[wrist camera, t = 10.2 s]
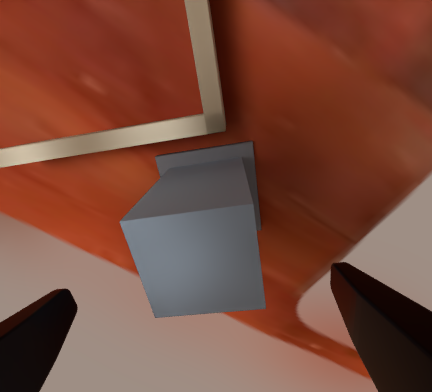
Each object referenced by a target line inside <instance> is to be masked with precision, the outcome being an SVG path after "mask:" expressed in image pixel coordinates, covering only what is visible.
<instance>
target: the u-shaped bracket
mask: <svg viewBox="0 0 432 392" xmlns="http://www.w3.org/2000/svg"><path fill="white" fill-rule="evenodd" d="M185 6H186V12H187V18H188V24H189V30H190V36H191V41H192V47H193V53H194V59H195V65H196V71H197V77H198V83H199V88H200V94H201V100H202V106H203V112H204V113H203V114H197V115H191V116H185V117H180V118H174V119H168V120H162V121H156V122H150V123H145V124H139V125H133V126H127V127H121V128H115V129H110V130H104V131H98V132H92V133H86V134H80V135H75V136H69V137H63V138H57V139H51V140H45V141H40V142H34V143H28V144H23V145H17V146H12V147H7V148H2V149H0V167H6V166H13V165H19V164H25V163H31V162H37V161H44V160H50V159H56V158H62V157H68V156H75V155H81V154H87V153H93V152H99V151H106V150H112V149H118V148H124V147H130V146H137V145H143V144H149V143H155V142H161V141H168V140H174V139H180V138H186V137H192V136H199V135H205V134H211V133H217V132H224V131H226V119H225V111H224V104H223V97H222V90H221V82H220V75H219V68H218V61H217V53H216V46H215V39H214V32H213V24H212V17H211V10H210V3H209V0H185Z"/></svg>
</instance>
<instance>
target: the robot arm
mask: <svg viewBox="0 0 432 392" xmlns="http://www.w3.org/2000/svg"><path fill="white" fill-rule="evenodd" d="M330 284H331V289H332V293H333V295H334V297H335V300H336V302H337V305H338V308H339V310H340V312H341V315H342V317H343V320H344V322H345V325H346V327H347V330H348V332H349V335H350V337H351V339H352V342H353V344H354V346H355V348H356V350H357V352H358V354H359V356H360V358H361V359H362V361H363V363H364V365H365V367H366V369H367V371H368V373H369V375H370V377H371V379H372V380H373V382H374V384H375V386H376V388H377V390H378V392H432V311H430V310H428V309H426V308H425V307H423V306H421V305H420V304H418V303H416V302H414V301H412V300H411V299H409V298H407V297H406V296H404V295H402V294H401V293H399V292H397V291H395V290H393V289H392V288H390V287H388V286H387V285H385V284H383V283H381V282H380V281H378V280H376V279H374V278H373V277H371V276H369V275H367V274H366V273H364V272H362V271H361V270H359V269H357V268H355V267H353V266H352V265H350V264H348V263H346V262H340V263H333V264H332V265H331V281H330ZM76 313H77V304H76V302H75V300H74V298H73V296H72V294H71V292H70V291H69V290H68V289H57V290H54V291H52V292H50V293H49V294H47V295H45V296H44V297H42V298H40V299H39V300H37V301H35V302H34V303H32V304H30V305H29V306H27V307H25V308H24V309H22V310H20V311H19V312H17V313H15V314H14V315H12V316H10V317H9V318H7V319H5V320H4V321H2V322H0V392H39V391H40V389H41V387H42V386H43V384H44V382H45V380H46V378H47V376H48V374H49V372H50V370H51V368H52V367H53V365H54V363H55V361H56V359H57V357H58V354H59V352H60V350H61V348H62V345H63V343H64V341H65V338H66V336H67V334H68V332H69V329H70V327H71V325H72V322H73V320H74V318H75V315H76Z"/></svg>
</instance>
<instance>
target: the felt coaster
mask: <svg viewBox="0 0 432 392" xmlns="http://www.w3.org/2000/svg"><path fill="white" fill-rule="evenodd" d="M236 157H242V161H243V165H244V169H245V173H246V177H247V181H248V185H249V189H250V193H251V197H252V201H253V206H254V214H255V222H256V230H257V231H258V230H261V220H260V210H259V200H258V190H257V180H256V170H255V160H254V150H253V142H252V141H247V142H240V143H234V144H227V145H221V146H214V147H208V148H201V149H195V150H188V151H182V152H175V153H169V154H163V155H157V156H156V157H155V159H156V163H157V167H158V170H159V174H160V178H161V177H162V176H163V175H164V174H165V172H166V171H167V170H168V169H169V168H173V167H179V166H186V165H192V164H198V163H205V162H211V161H217V160H224V159H230V158H236Z"/></svg>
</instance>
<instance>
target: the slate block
mask: <svg viewBox="0 0 432 392" xmlns="http://www.w3.org/2000/svg"><path fill="white" fill-rule="evenodd" d="M120 224H121V227H122V229H123V232H124V235H125V238H126V240H127V243H128V246H129V248H130V251H131V254H132V257H133V259H134V262H135V265H136V267H137V270H138V273H139V275H140V278H141V281H142V284H143V286H144V289H145V292H146V294H147V297H148V300H149V303H150V305H151V308H152V310H153V313H154V316H155V318H159V317H172V316H184V315H196V314H207V313H220V312H232V311H244V310H256V309H266V305H265V296H264V288H263V280H262V272H261V263H260V255H259V247H258V239H257V230H256V222H255V214H254V206H253V201H252V197H251V193H250V189H249V185H248V181H247V177H246V173H245V169H244V165H243V161H242V157H236V158H230V159H224V160H217V161H211V162H205V163H198V164H192V165H186V166H179V167H173V168H169V169H168V170H167V171H166V172H165V174H164V175H163V176H162V177H161V178H160V179H159V180H158V181H157V182H156V183H155V184H154V185H153V186H152V187H151V189H150V190H149V191H148V192H147V193H146V194H145V195H144V196H143V197H142V198H141V199H140V200H139V201H138V202H137V204H136V205H135V206H134V207H133V208H132V209H131V210H130V211H129V212H128V213H127V214H126V215H125V216H124V217H123V219H122V220H121V221H120Z"/></svg>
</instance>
